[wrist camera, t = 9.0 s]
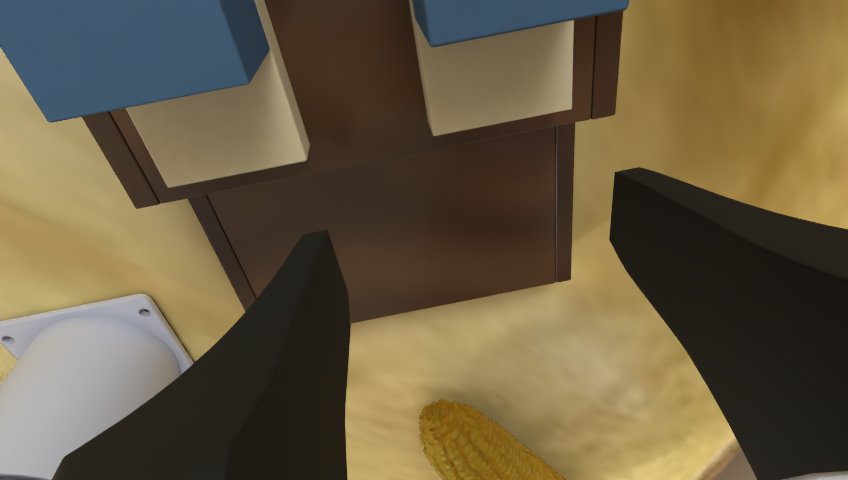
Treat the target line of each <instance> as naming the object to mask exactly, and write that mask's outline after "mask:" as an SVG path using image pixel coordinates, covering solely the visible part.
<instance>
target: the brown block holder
mask: <svg viewBox="0 0 848 480" xmlns="http://www.w3.org/2000/svg"><path fill="white" fill-rule="evenodd" d="M264 1H265V4H266V7H267V11H268V14H269V17H270V20H271V23H272V26H273V30H274V33H275V36H276V39H277V42H278V45H279V48H280V52H281V55H282V58H283V61H284V64H285V67H286V71H287V74H288V77H289V80H290V83H291V86H292V89H293V93H294V96H295V99H296V102H297V105H298V108H299V112H300V115H301V118H302V121H303V124H304V127H305V130H306V134H307V137H308V140H309V143H310V147H309V152H308V157H307V160H306V161H304V162H298V163H293V164H288V165H283V166H278V167H273V168H268V169H263V170H258V171H253V172H247V173H242V174H237V175H232V176H227V177H222V178H217V179H212V180H207V181H202V182H196V183H191V184H186V185H181V186H176V187H171V188H168V187H167V185H166V183H165V181H164V180H163V178H162V176H161V174H160V172H159V170H158V168H157V166H156V164H155V163H154V161H153V159H152V157H151V155H150V153H149V151H148V149H147V148H146V146H145V144H144V142H143V140H142V138H141V136H140V134H139V133H138V131H137V129H136V127H135V125H134V123H133V121H132V119H131V117H130V116H129V114H128V112H127V110H126V108H123V109H118V110H113V111H108V112H103V113H98V114H92V115H87V116H82V118H83V120H84V121H85V123H86V125H87V126H88V128H89V130H90V131H91V133H92V135H93V136H94V138H95V140H96V142H97V143H98V145H99V147H100V148H101V150H102V152H103V153H104V155H105V157H106V158H107V160H108V162H109V163H110V165H111V167H112V169H113V170H114V172H115V174H116V175H117V177H118V179H119V180H120V182H121V184H122V185H123V187H124V189H125V190H126V192H127V194H128V196H129V197H130V199H131V201H132V202H133V204H134V206H135V207H136V208H137V209H138V208H143V207H148V206H153V205H158V204H160V203H166V202H171V201H176V200H182V199H187V198H188V200H189V202H190V204H191V206H192V208H193V210H194V212H195V214H196V216H197V218H198V220H199V222H200V223H201V225H202V227H203V229H204V231H205V233H206V235H207V237H208V239H209V241H210V243H211V245H212V247H213V249H214V251H215V253H216V255H217V257H218V259H219V261H220V263H221V264H222V266H223V268H224V270H225V272H226V274H227V276H228V278H229V280H230V282H231V284H232V286H233V288H234V290H235V292H236V294H237V296H238V298H239V300H240V302H241V304H242V305H243V307H244V309H245V311H247V310H248V308H249V307H250V306H251V305H252V303H253V302H254V301H255V300H256V299H257V297H258V296H259V295H260V294H261V292H262V291H263V290H264V289H265V287H266V286H267V285H268V283H269V282H270V281H271V279H272V278H273V277H274V275H275V274H276V272H277V271H278V270H279V268H280V267H281V265H282V264H283V263H284V261H285V260H286V258H287V257H288V255H289V254H290V252H291V251H292V249H293V248H294V247H295V245H296V244H297V242H298V241H299V239H300V238H301V237H302V235H303V234H308V233H313V232H318V231H323V230H328V233H329V236H330V239H331V242H332V245H333V248H334V251H335V254H336V257H337V260H338V263H339V266H340V269H341V272H342V275H343V278H344V281H345V284H346V287H347V290H348V297H349V310H350V323H355V322H360V321H365V320H370V319H375V318H380V317H386V316H391V315H396V314H401V313H406V312H411V311H416V310H421V309H426V308H431V307H436V306H441V305H446V304H451V303H456V302H461V301H466V300H471V299H476V298H481V297H486V296H491V295H496V294H501V293H506V292H511V291H516V290H521V289H527V288H532V287H537V286H542V285H547V284H552V283H555V282H562V281H567V280H570V279H571V250H572V213H573V176H574V139H575V122H579V121H584V120H589V119H590V118H591V119H597V118H602V117H607V116H612V115H615V109H616V96H617V83H618V70H619V57H620V44H621V31H622V18H623V11H618V12H613V13H608V14H603V15H597V16H592V17H587V18H582V19H577V20H574V34H573V78H572V109H570V110H565V111H560V112H555V113H550V114H545V115H539V116H534V117H529V118H524V119H519V120H514V121H509V122H504V123H499V124H494V125H489V126H483V127H478V128H473V129H468V130H463V131H458V132H453V133H448V134H443V135H438V136H433V134H432V131H431V128H430V125H429V123H428V118H427V111H426V105H425V99H424V92H423V86H422V80H421V73H420V67H419V61H418V55H417V48H416V42H415V36H414V29H413V23H412V17H411V10H410V4H409V0H264Z"/></svg>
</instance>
